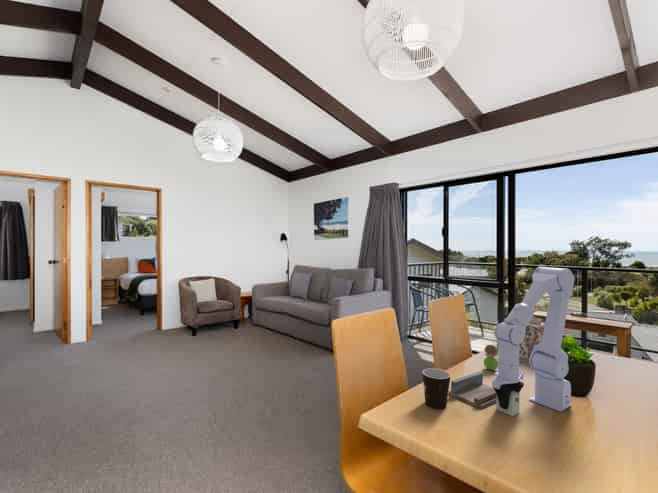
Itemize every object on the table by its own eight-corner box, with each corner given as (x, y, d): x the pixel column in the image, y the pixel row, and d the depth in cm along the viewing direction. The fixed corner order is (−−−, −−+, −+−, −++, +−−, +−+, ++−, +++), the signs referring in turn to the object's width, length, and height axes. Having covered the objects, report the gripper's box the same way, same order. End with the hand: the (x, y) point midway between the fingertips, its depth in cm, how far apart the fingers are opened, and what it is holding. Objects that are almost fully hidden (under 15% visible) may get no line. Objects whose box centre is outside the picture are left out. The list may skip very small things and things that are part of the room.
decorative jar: (525, 352, 164) (526, 314, 164) (553, 358, 155) (554, 319, 155) (515, 357, 156) (516, 318, 156) (543, 364, 147) (544, 322, 147)
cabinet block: (521, 413, 104) (521, 393, 104) (514, 416, 102) (514, 396, 102) (503, 405, 109) (503, 387, 109) (496, 409, 106) (496, 390, 106)
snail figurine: (503, 372, 137) (503, 342, 137) (487, 372, 137) (487, 342, 137) (496, 367, 143) (497, 339, 142) (481, 367, 143) (481, 338, 143)
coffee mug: (425, 396, 115) (426, 366, 115) (452, 402, 110) (453, 371, 110) (415, 410, 105) (416, 378, 105) (444, 418, 100) (445, 384, 100)
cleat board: (508, 396, 115) (509, 382, 115) (481, 409, 106) (481, 393, 106) (476, 384, 125) (476, 370, 125) (448, 394, 116) (448, 380, 116)
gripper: (508, 354, 113) (507, 395, 113) (482, 362, 105) (482, 406, 105) (530, 361, 107) (529, 404, 107) (505, 370, 99) (504, 416, 99)
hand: (507, 406), depth 105 cm, fingers closed on cabinet block, 4 cm apart
